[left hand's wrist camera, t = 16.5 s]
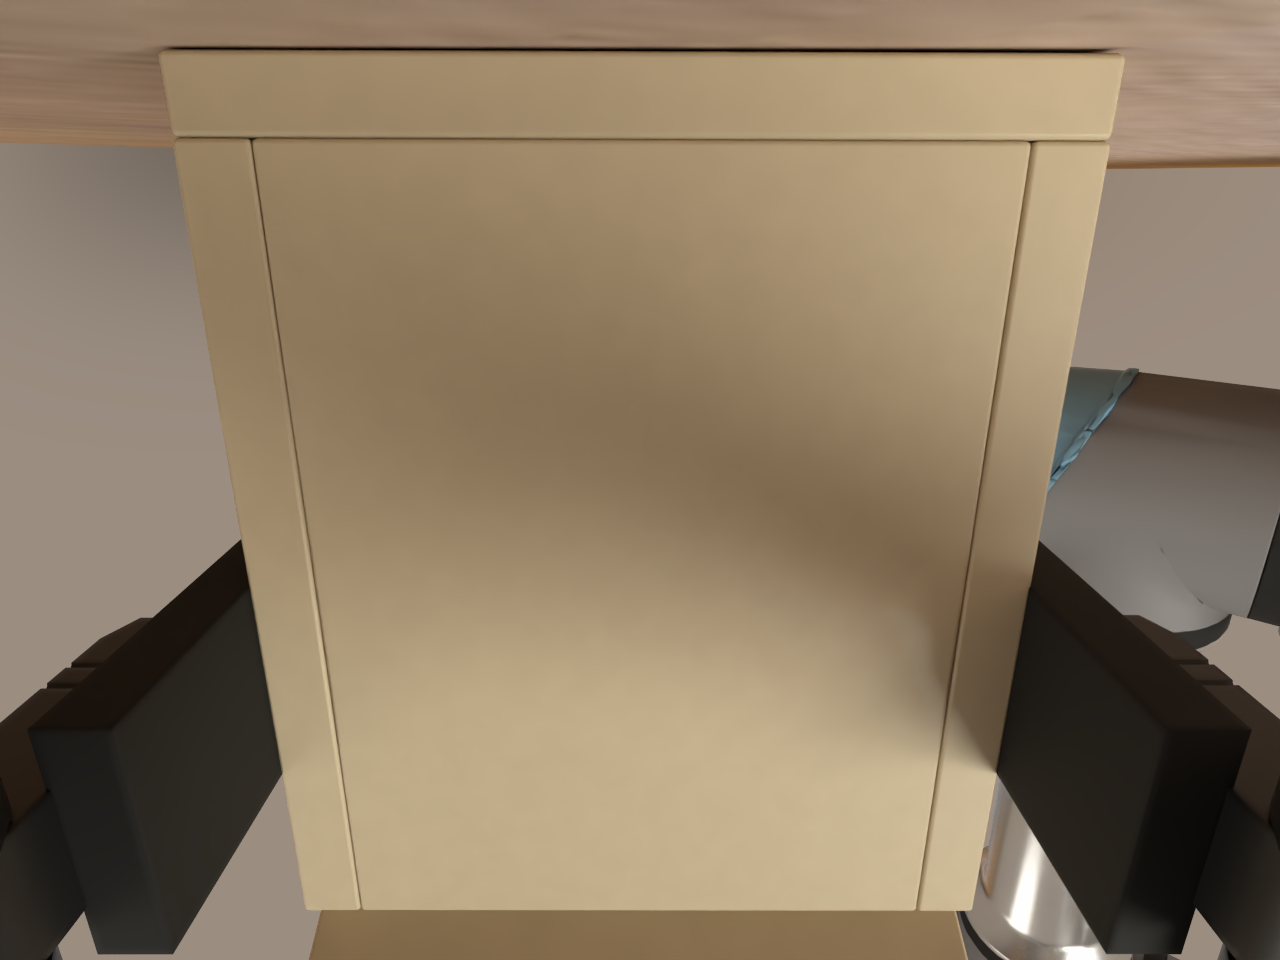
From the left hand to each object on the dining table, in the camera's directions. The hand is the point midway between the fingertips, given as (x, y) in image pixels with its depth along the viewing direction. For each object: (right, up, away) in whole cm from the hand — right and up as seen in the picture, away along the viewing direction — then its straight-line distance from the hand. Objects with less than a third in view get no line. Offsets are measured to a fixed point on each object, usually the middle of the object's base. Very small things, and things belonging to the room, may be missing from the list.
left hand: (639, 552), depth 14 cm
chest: (0, +7, 0) cm, 8 cm away
